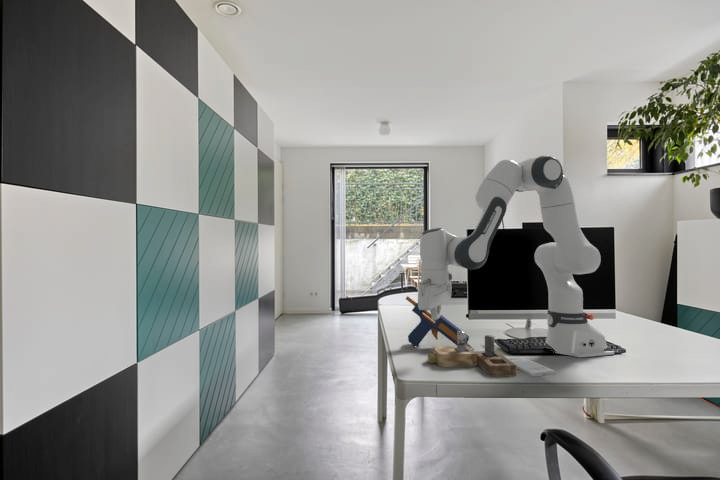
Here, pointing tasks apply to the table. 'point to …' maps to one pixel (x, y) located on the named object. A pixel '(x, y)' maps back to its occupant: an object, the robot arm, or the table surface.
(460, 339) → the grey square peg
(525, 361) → the external hard drive
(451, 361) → the socket block
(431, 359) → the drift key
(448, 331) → the glue gun
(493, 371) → the bit rack
